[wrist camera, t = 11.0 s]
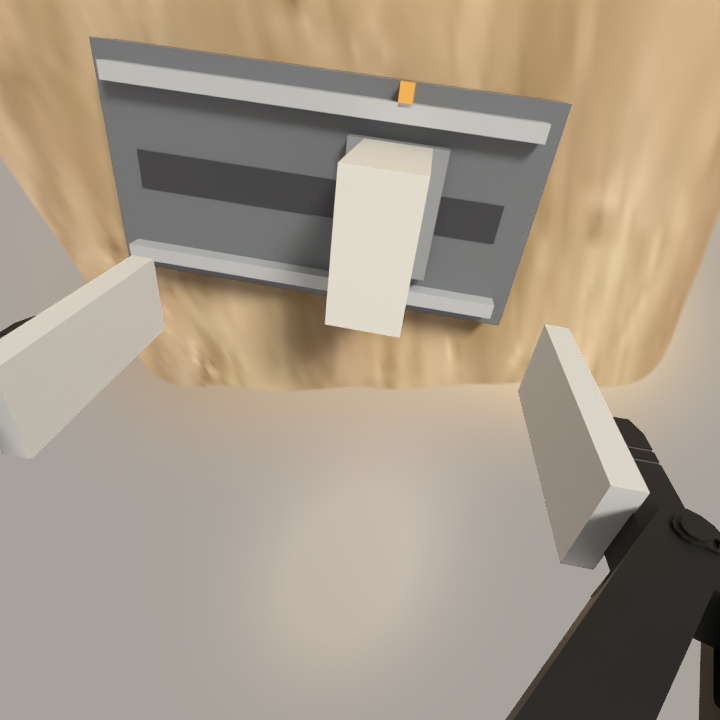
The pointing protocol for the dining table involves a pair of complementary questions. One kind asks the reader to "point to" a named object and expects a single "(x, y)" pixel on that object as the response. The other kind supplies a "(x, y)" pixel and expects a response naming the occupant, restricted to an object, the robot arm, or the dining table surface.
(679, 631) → the robot arm
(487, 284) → the grey slider base
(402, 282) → the fader tab
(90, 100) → the dining table surface
